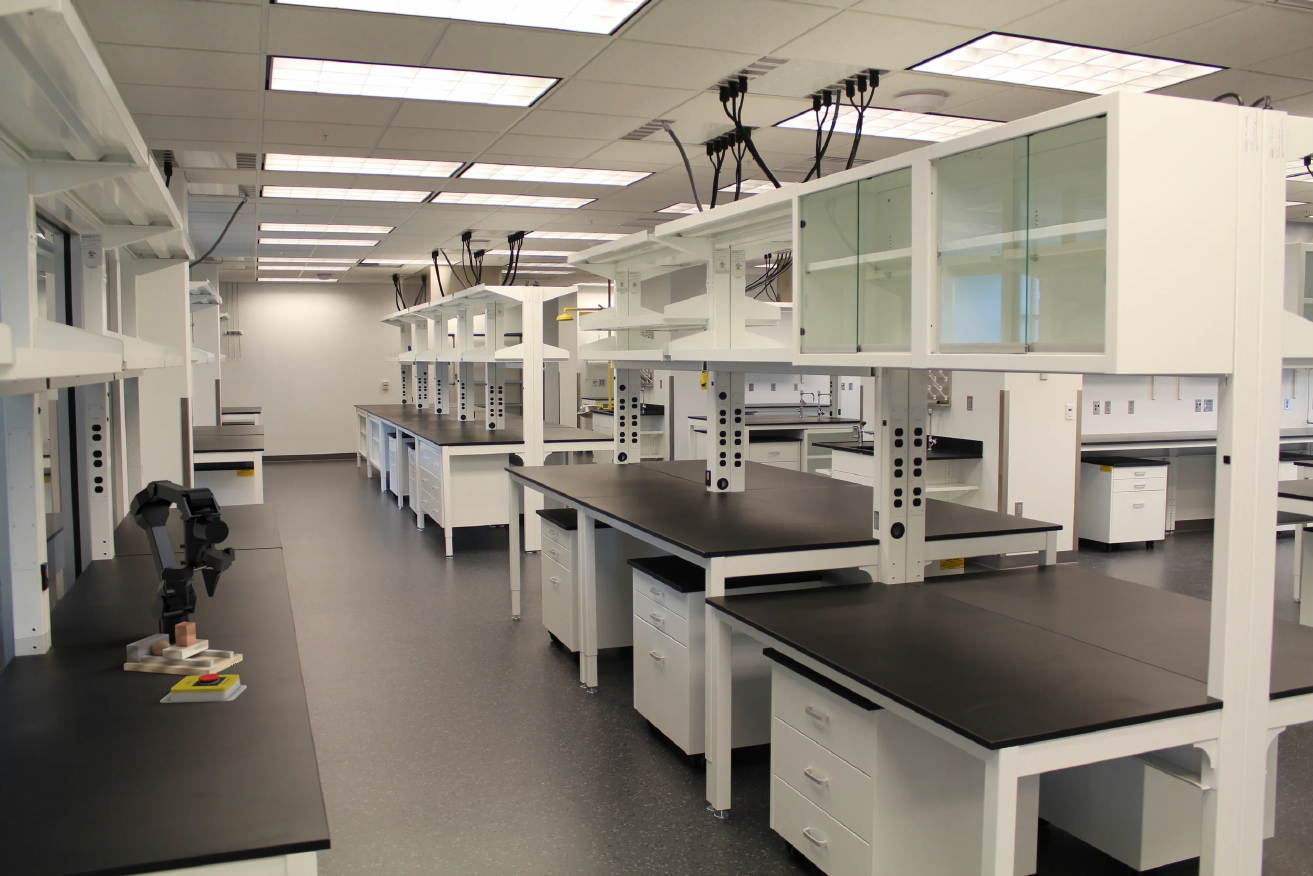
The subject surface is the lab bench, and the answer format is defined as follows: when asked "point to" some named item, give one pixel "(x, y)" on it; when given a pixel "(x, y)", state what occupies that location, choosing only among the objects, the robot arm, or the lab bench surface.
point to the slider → (185, 642)
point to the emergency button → (205, 689)
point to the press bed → (193, 665)
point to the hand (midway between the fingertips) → (198, 601)
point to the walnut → (160, 647)
